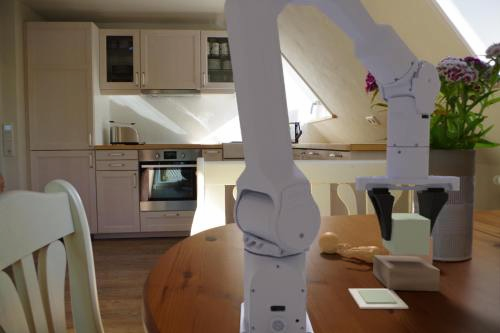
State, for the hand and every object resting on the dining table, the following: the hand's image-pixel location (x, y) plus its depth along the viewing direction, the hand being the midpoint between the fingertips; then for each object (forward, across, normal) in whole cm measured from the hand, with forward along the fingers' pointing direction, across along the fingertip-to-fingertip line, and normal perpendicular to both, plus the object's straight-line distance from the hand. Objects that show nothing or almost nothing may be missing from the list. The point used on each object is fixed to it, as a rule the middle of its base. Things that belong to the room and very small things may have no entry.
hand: (405, 239), depth 57 cm
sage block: (+2, 0, 0) cm, 2 cm away
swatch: (+7, +6, +6) cm, 11 cm away
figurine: (+3, +9, -17) cm, 19 cm away
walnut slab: (+6, 0, 0) cm, 6 cm away
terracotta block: (+7, -5, -10) cm, 13 cm away
